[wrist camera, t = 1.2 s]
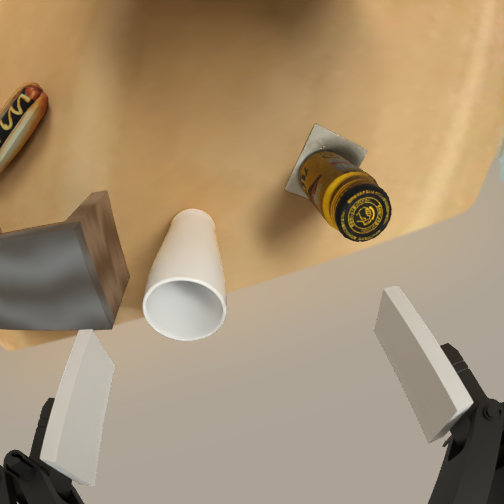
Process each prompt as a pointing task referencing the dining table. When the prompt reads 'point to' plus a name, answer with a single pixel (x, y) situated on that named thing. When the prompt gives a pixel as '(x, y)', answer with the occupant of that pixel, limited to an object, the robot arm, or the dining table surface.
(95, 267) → the gray-topped wooden box
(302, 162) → the condiment
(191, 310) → the white tapered cylinder
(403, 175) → the dining table surface
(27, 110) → the hot dog
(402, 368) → the robot arm
